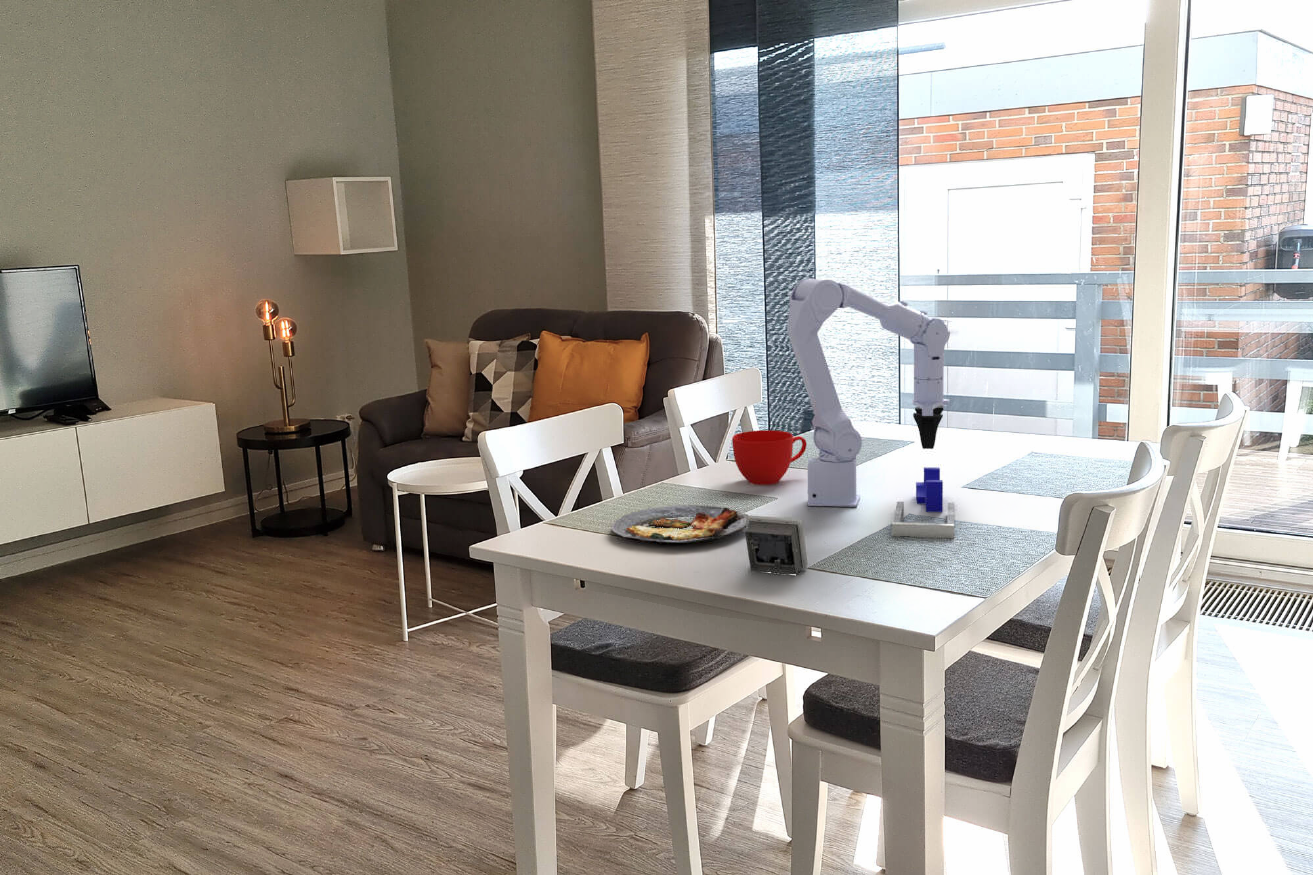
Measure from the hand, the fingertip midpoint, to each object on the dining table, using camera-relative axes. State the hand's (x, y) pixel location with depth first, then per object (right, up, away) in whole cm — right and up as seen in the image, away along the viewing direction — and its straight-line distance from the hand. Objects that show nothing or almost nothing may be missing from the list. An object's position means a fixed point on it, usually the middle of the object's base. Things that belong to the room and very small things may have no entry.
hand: (928, 445), depth 216 cm
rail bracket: (-6, -14, -21) cm, 26 cm away
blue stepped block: (-2, -12, -8) cm, 14 cm away
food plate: (-50, -16, -18) cm, 55 cm away
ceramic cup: (-30, -8, +17) cm, 35 cm away
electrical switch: (-35, -20, -44) cm, 60 cm away
